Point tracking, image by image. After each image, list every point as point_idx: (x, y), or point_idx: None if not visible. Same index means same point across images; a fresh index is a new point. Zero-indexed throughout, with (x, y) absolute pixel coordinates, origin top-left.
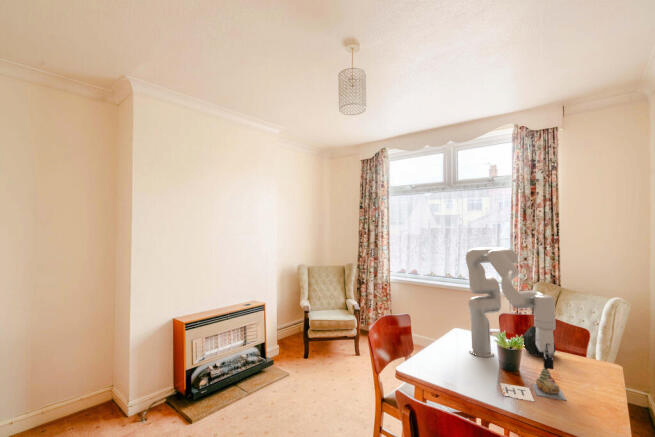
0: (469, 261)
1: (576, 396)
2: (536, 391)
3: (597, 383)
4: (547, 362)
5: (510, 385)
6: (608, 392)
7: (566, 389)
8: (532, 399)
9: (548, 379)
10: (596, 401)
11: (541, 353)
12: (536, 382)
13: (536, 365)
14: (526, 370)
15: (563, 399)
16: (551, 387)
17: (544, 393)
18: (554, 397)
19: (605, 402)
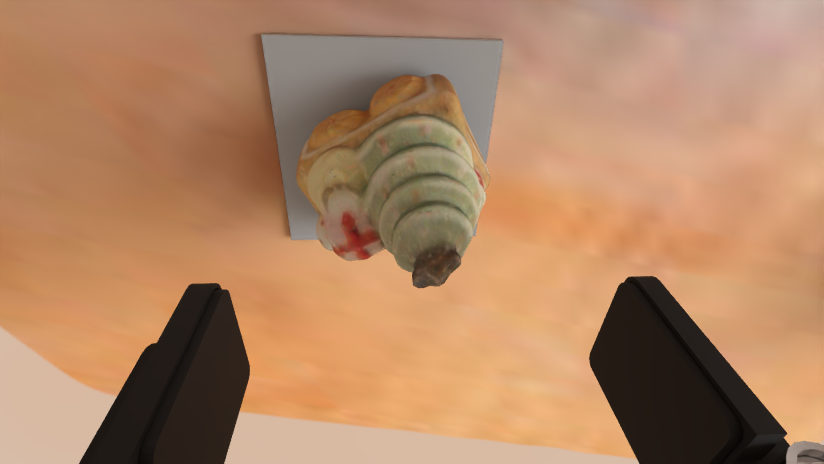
0: None
1: (390, 296)
2: (334, 44)
3: (584, 399)
4: (106, 431)
5: None
6: (494, 415)
7: (473, 267)
8: None
9: (343, 211)
10: (369, 363)
11: (659, 380)
12: (437, 79)
13: None
14: (792, 49)
15: (290, 223)
16: (306, 193)
17: (324, 110)
18: (286, 172)
19: (376, 389)
